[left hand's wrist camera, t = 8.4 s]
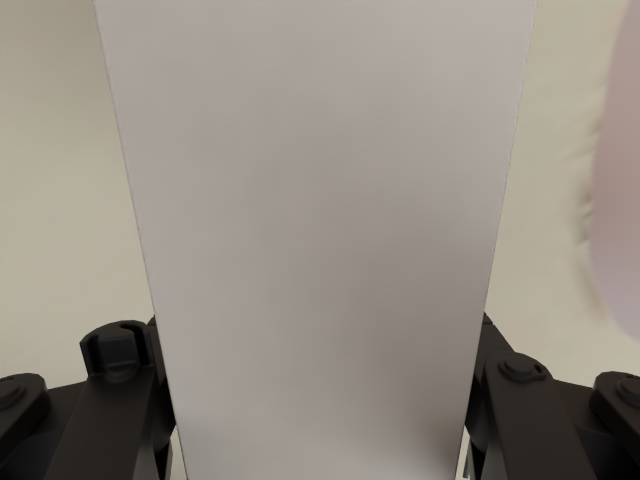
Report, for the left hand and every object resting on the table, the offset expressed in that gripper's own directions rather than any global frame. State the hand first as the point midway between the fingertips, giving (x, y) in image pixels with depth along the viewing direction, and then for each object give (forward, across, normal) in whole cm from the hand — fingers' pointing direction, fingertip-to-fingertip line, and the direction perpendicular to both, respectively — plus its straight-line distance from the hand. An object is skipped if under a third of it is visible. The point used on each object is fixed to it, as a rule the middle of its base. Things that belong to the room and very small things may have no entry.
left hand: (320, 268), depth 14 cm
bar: (0, 0, -19) cm, 19 cm away
